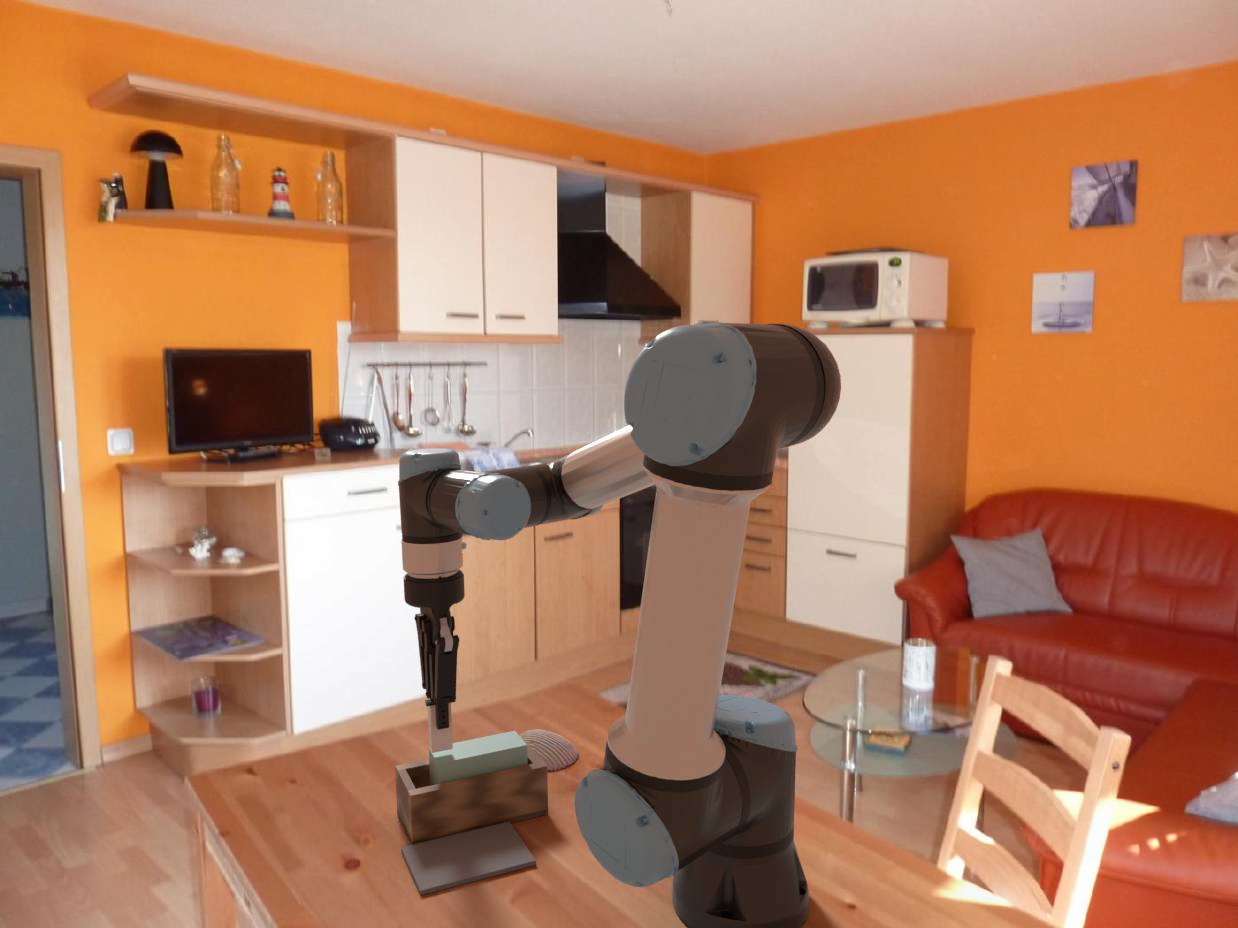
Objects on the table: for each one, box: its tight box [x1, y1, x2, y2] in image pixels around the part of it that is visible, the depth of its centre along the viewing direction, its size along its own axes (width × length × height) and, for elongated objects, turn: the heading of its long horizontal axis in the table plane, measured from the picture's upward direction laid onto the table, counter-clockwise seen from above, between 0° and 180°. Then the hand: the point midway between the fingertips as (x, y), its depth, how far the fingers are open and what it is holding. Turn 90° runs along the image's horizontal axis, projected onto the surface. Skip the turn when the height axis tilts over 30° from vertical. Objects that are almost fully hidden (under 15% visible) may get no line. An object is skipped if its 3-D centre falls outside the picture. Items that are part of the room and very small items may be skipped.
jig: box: [394, 740, 549, 845], centre depth 122 cm, size 18×9×7 cm, turn 115°
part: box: [428, 730, 528, 785], centre depth 122 cm, size 12×5×5 cm, turn 115°
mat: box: [400, 822, 537, 896], centre depth 112 cm, size 10×14×1 cm
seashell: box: [518, 728, 579, 772], centre depth 140 cm, size 10×6×10 cm
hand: (441, 748), depth 120 cm, fingers closed
